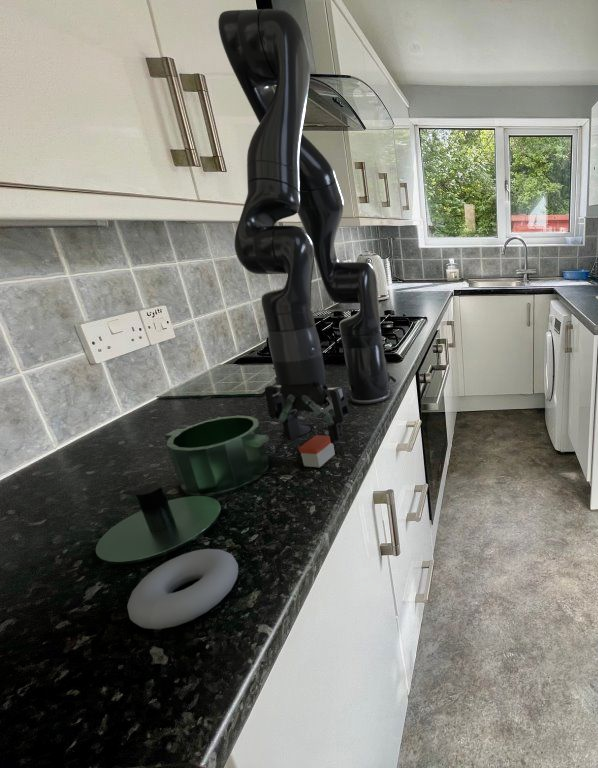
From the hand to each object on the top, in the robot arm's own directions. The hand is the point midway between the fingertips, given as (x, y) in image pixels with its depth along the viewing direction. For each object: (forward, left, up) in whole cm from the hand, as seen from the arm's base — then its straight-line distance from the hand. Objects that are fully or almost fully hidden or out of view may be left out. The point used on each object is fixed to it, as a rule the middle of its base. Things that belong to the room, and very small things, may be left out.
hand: (315, 440), depth 74 cm
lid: (+21, -10, -4) cm, 23 cm away
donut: (+30, +4, -4) cm, 30 cm away
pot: (+7, -13, -4) cm, 15 cm away
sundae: (-10, -12, -4) cm, 16 cm away
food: (0, 0, -4) cm, 4 cm away
